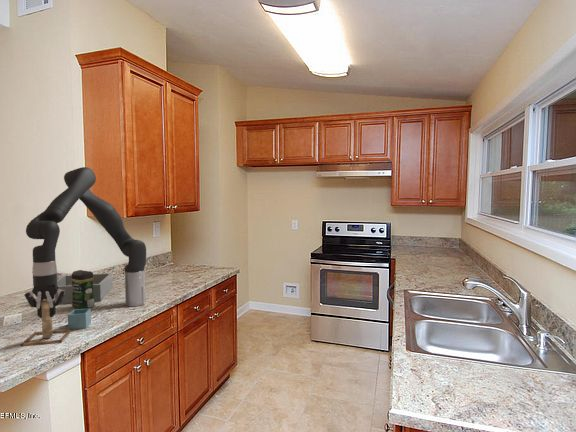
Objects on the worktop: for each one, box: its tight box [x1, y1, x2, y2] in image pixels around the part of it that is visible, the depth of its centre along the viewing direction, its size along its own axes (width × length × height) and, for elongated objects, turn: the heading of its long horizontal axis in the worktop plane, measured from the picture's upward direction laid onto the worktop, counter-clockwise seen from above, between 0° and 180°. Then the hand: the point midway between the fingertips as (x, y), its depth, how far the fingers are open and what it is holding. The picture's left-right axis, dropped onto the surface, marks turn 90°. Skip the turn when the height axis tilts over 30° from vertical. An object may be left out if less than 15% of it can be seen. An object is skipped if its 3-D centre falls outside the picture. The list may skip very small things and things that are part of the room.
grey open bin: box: [44, 273, 114, 305], centre depth 188 cm, size 25×25×9 cm
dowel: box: [41, 299, 54, 339], centre depth 132 cm, size 3×3×14 cm
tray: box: [20, 328, 73, 347], centre depth 132 cm, size 13×11×2 cm
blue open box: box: [67, 307, 92, 331], centre depth 144 cm, size 7×7×7 cm
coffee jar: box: [71, 269, 95, 310], centre depth 169 cm, size 10×8×19 cm
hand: (46, 316), depth 132 cm, fingers closed on dowel, 3 cm apart
